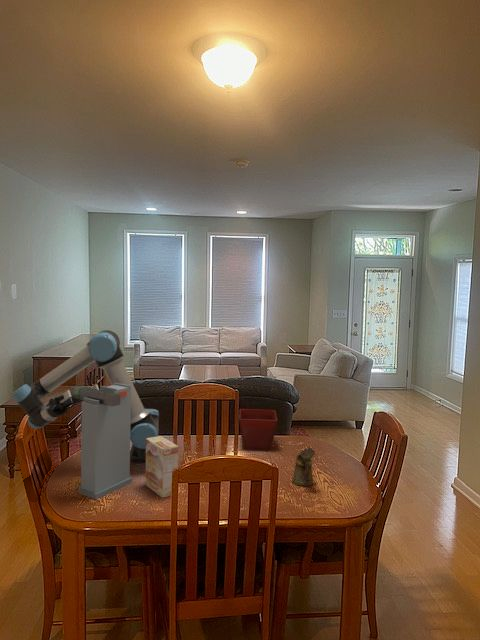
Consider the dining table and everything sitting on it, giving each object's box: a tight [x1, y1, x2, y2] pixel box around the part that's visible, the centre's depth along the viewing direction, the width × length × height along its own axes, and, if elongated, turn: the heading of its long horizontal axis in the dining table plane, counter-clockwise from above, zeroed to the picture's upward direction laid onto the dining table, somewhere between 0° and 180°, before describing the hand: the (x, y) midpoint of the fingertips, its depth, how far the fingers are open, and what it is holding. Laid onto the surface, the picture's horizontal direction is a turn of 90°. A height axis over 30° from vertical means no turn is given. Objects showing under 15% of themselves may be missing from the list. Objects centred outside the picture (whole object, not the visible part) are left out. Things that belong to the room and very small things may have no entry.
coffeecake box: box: [144, 435, 179, 499], centre depth 186 cm, size 15×7×20 cm, turn 37°
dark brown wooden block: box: [69, 385, 120, 407], centre depth 181 cm, size 24×4×4 cm, turn 58°
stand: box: [77, 383, 133, 500], centre depth 185 cm, size 10×19×41 cm, turn 148°
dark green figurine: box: [291, 447, 315, 487], centre depth 195 cm, size 9×14×18 cm, turn 3°
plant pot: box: [238, 408, 278, 451], centre depth 241 cm, size 19×19×17 cm
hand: (84, 390), depth 184 cm, fingers open, 13 cm apart
